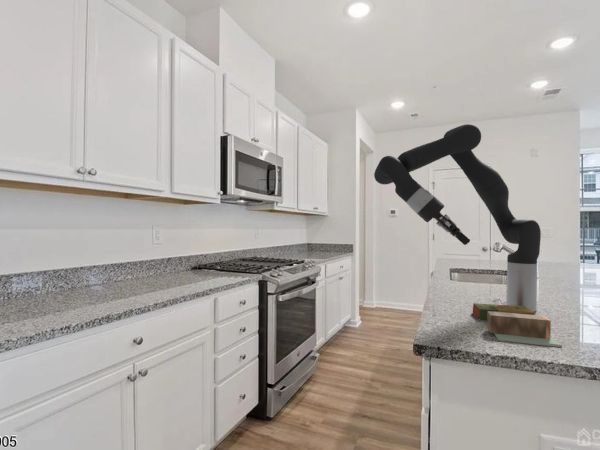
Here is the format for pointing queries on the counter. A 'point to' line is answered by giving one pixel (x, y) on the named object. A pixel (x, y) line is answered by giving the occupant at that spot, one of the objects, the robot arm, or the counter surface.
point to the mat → (529, 340)
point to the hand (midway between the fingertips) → (467, 242)
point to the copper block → (519, 324)
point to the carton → (498, 310)
